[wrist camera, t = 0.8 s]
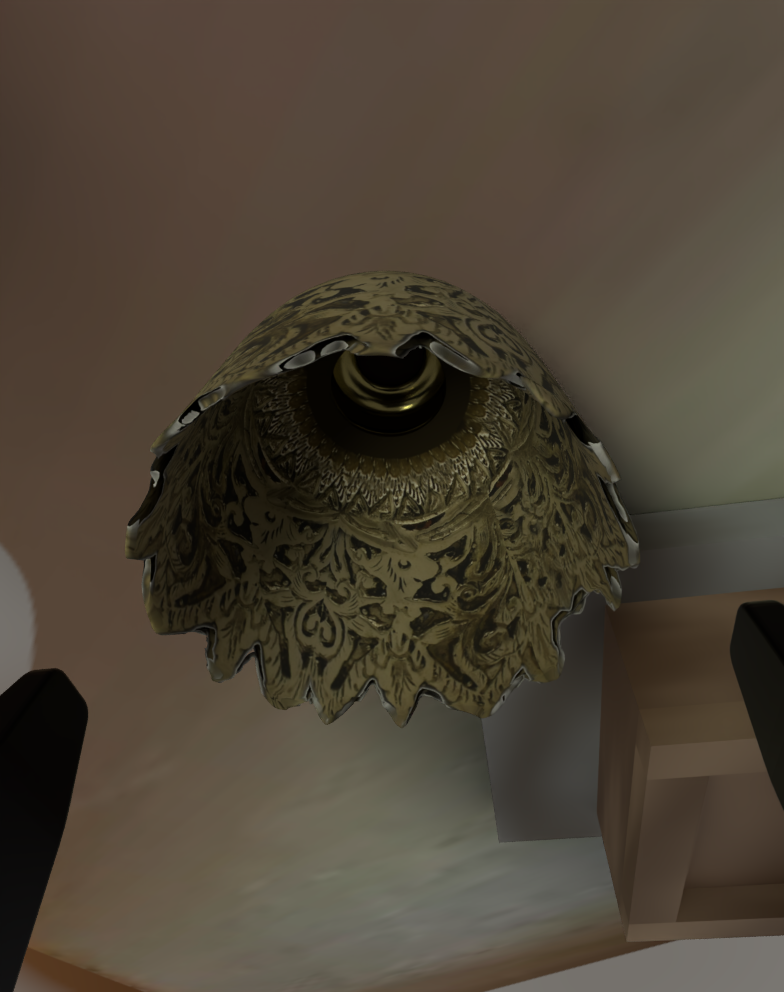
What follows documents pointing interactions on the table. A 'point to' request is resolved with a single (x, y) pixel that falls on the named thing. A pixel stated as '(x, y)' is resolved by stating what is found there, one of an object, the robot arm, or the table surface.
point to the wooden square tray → (658, 733)
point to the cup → (381, 506)
